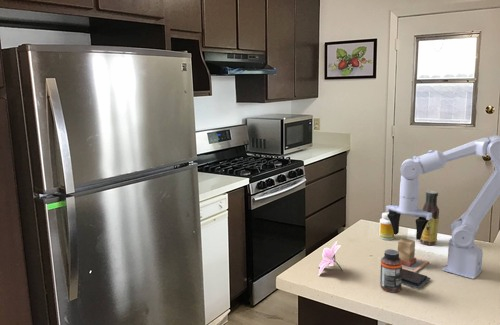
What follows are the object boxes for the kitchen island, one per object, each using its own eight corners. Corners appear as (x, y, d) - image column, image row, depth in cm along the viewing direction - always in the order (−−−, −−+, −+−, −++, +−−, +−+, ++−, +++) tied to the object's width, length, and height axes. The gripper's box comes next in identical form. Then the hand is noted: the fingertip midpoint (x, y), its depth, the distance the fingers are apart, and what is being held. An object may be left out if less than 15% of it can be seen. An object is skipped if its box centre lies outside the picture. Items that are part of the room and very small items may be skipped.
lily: (326, 263, 148) (313, 241, 146) (358, 256, 142) (344, 233, 139) (317, 287, 139) (303, 264, 136) (350, 282, 132) (336, 257, 130)
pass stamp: (416, 262, 144) (417, 240, 143) (409, 267, 141) (410, 245, 139) (401, 258, 148) (402, 237, 146) (395, 262, 144) (396, 241, 143)
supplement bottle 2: (384, 281, 132) (386, 246, 130) (404, 287, 128) (406, 250, 126) (376, 289, 127) (377, 252, 125) (396, 294, 123) (398, 257, 121)
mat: (428, 262, 144) (429, 261, 144) (414, 273, 137) (414, 272, 136) (397, 254, 152) (397, 252, 152) (382, 264, 144) (382, 262, 144)
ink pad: (430, 280, 132) (430, 276, 131) (419, 289, 126) (419, 285, 126) (399, 271, 139) (399, 266, 138) (387, 279, 133) (387, 275, 133)
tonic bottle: (415, 241, 164) (417, 190, 160) (428, 239, 166) (431, 188, 162) (426, 247, 158) (429, 194, 154) (441, 245, 160) (444, 192, 156)
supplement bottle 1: (395, 240, 165) (396, 215, 163) (381, 240, 165) (382, 216, 164) (391, 235, 170) (392, 211, 169) (377, 235, 171) (378, 211, 169)
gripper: (436, 197, 138) (434, 238, 140) (393, 190, 148) (392, 228, 150) (427, 202, 133) (425, 244, 135) (383, 194, 143) (382, 233, 145)
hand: (407, 236), depth 142 cm, fingers open, 7 cm apart
